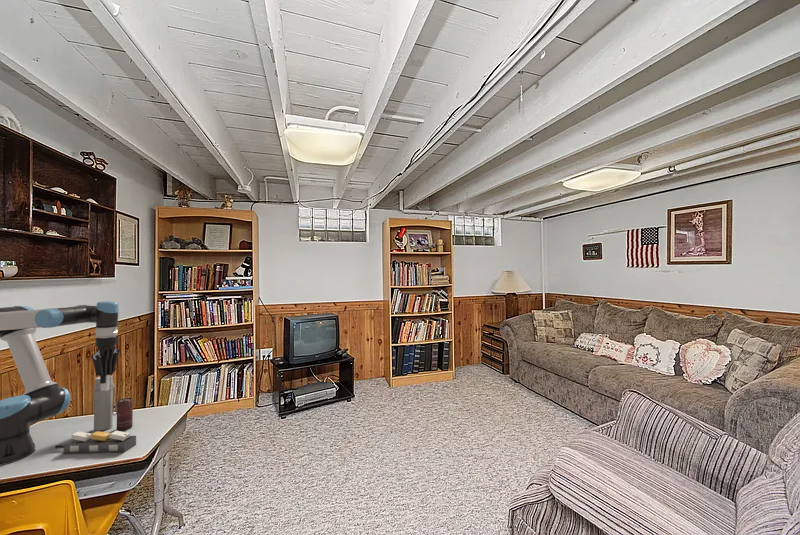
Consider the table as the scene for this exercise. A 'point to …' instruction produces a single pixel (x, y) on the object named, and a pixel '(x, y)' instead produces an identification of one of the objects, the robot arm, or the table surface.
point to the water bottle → (103, 405)
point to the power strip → (98, 446)
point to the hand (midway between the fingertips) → (105, 389)
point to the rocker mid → (100, 436)
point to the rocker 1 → (81, 436)
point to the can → (124, 414)
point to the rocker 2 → (119, 435)
